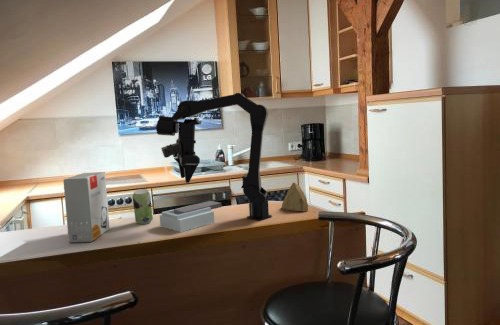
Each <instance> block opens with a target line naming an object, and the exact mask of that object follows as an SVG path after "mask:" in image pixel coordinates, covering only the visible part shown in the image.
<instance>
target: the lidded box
mask: <svg viewBox="0 0 500 325" xmlns="http://www.w3.org/2000/svg"><path fill="white" fill-rule="evenodd" d="M195 204H196V203H195ZM195 204H193V205H195ZM191 205H192V204H190V205H189V206H191ZM187 206H188V205H186V206H185V207H187ZM178 208H179V207H178ZM178 208H176V209H178ZM159 223H160V224H159V226H162V227H161V228H164V227H166V228H165V229H167V228H170V229H169V230H171V229H173V230H172V231H174V230H176V231H175V232H178V231H179V232H178V233H183V231H184V232H187V231H186V230H188V231H190V230H189V229H191V230H194V229H193V228H195V229H198V228H201V226H202V227H205V226H208V225H207V224H209V225H211V223H212V224H215V211H213V210H211V207H207V208H203V209H199V210H195V211H191V212H187V213H183V214H179V215H177V214H174V209H170V210H165V211H161V214H159ZM204 225H205V226H204ZM197 227H198V228H197Z"/></svg>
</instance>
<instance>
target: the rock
mask: <svg viewBox="0 0 500 325" xmlns="http://www.w3.org/2000/svg"><path fill="white" fill-rule="evenodd" d="M307 201H308V200H307V197H306V195H305V192H304V190H302V188H301V187H300V184H298V183H296V182H292V183H291V185H290V187H289V188H288V191H287V192H286V195H285V197H284V199H283V201H282V203H281V208H280V209H283V210H287V211H293V212H294V211H295V212H297V211H298V212H308V211H309V206H308V205H309V204H308V202H307Z"/></svg>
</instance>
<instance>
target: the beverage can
mask: <svg viewBox="0 0 500 325" xmlns="http://www.w3.org/2000/svg"><path fill="white" fill-rule="evenodd" d="M132 202H133V203H132V204H133V210H134V212H133V213H134V221H135V222H136V223H138V224H139V225H146V224H149V223H151V221H153V220H154V217H153V208H152V207H153V206H152V199H151V193H150V192H149V190H148V189H146V188H140V189H136V190H134V191H133V193H132Z"/></svg>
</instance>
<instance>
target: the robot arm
mask: <svg viewBox="0 0 500 325" xmlns="http://www.w3.org/2000/svg"><path fill="white" fill-rule="evenodd" d="M233 106H238V107H240V108H241V109H243V110H244V111H245V112H247V113H248V114H249V119H250V127H251V135H250V136H251V138H250V149H249V159H248V161H249V162H248V170H247V173H244V175H242V185H241V189H242V192H243V194H244V196H246V197H247V198H248V200H249V202H248V203H249V204H248V206H249V207H248V208H249V215H247V216H246V218H247V219H252V220H255V221H262V220H265V219H268V218H271V217H273V215H272V214H270V212H269V210H270V209H269V200H268V199H266V198H267V196H268V191H267V190H266V189H265V188H264V187H262V179H261V178H262V177H261V173H260V172H261V171H260V169H261V160H262V150H263V149H262V147H263V137H264V136H263V134H264V130H265V128H266V127H265V126H266V124H267V119H268V117H269V110H268V108H267V106H265V105H263V104H257V103H256V102H254V101H253V100H251V99H250V98H248V97H246V96H245V94H244V93H241V92H236V93H233V94H229V95H224V96H220V97H219V96H218V97H213V98H208V99H204V100H183V101H182V100H181V101H180V102H179V104H178V105H177V110H176V111H175V112H174V113H173V115H172V116H165V115H159V116H158V120H157V122H156V127H155V130H156V134H157V136H169V137H171V136H173V137H174V136H175V135H176V134H178V136H177V137H178V138H177V139H176V140H175V143H170V144H169V145H166V146H163V147H161V148H160V149H161V153H162V155H163V158H169V157H171V156H172V157H173V159H174V160H175V162H176V163H177V164H178V169H179V174H180V179H184V180H185V183H186V184H189V183H190V181H191V179H192V177H193V175H194V173H195V172H196V170H197V168H198V166H199V164H200V163H201V162H200V160H201V159H200V157H199V156H198V155H197V154H196V151H195V144H197V143H196V142H197V140H196V139H195V138H196V137H195V136H196V135H195V134H196V125H202V122H201V121H200V120H199V119H198V118H197V117H195V116H198V115H201V114H203V113H205V112H207V111H213V110H217V109H223V108H227V107H233ZM193 117H194V118H193ZM189 118H190V119H189ZM191 118H192V119H191ZM179 120H183V121H179Z"/></svg>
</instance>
